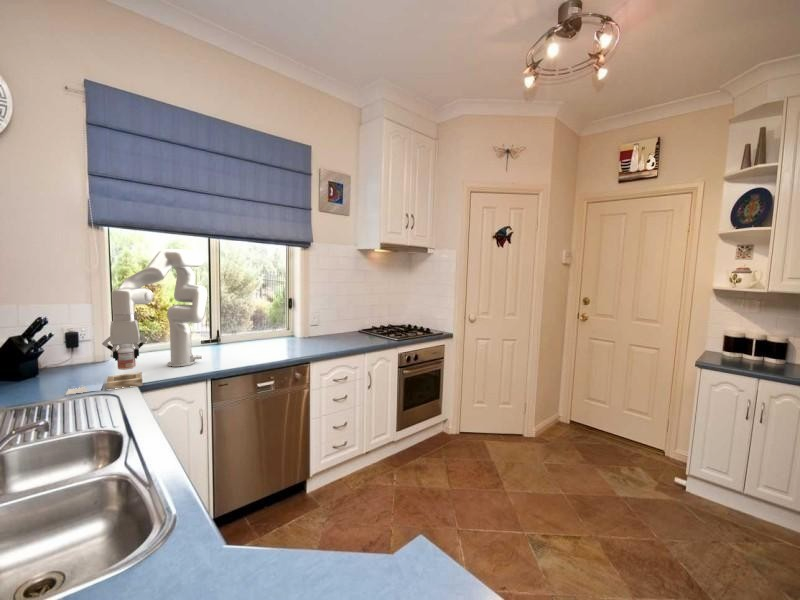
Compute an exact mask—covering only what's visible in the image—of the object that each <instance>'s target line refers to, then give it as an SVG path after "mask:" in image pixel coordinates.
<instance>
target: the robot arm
mask: <svg viewBox="0 0 800 600" xmlns="http://www.w3.org/2000/svg"><path fill="white" fill-rule="evenodd" d="M204 263H205V257H204V254H203V253H202V252H201V251H199V250H189V249H181V248H178V249H177V248H174V249H173V248H164V249H161V250H160V251H158V252H157V254H156V255H155V256H154V257H153V259H152V260H151V261H150V262H149V263H148V265H147V266H146V267H145V268H143V269H141V270H140V271H138V272H136V273H134V274H132V275H130V276H128V277H127V278H125V280H124V281H123V282H122V283H121V284H120V285H119V286H118V288H116V289H112V291H111V305H112V306H111V307H112V321H110V326H109V327H110V328H109V336H108V338H106V339H105V340H104V341H103V342H102V343H101V344H102V346H104V347H106V348H107V349H108V350H110V351H111V352H112V359H114V361H115V362H117V350H118V349H117V348H118V347H119V345H121V344H133V346H134V349H135V360H136V359H138V357H139V356H140V349H141V347H143V346H144V344H146V343H147V342H148V338H146V337H145V336H143V335H142V334H141V333H140V332H141V331H140V324H139V321H138V318H140V313H138V314H136V311H135V309H136V307H135V305H147V304H149V303H151V302H152V301H153V300H154V293H153V291H152V290H151V289H149V288H146V287H145V286H147V285H151V284H155V283H158V282H160V281H163V280H164V279H165V278H166V276H167V274H168V273H169V272H170V270H172V268H174V271H175V274H176V281H175V287H174V293H173V296H174V297H173V298H174V299H175V301H176V302H178V303H188V304H173V305H171V306H170V307H169V308H168V309H167V311H166V316H167V321H168V325H169V343H170V344H169V345H170V361H168V362H167V364H166V365H167V366H168V367H171V366H172V368H176V367H177V368H180V366H181V367H188V366H192V365H194V364H195V363H196V360H202V358H203V357H202V355H199V354H198V355H193V353H192V329H191V327H190V324H199V323H201V322H203V320H204V318H205V315H206V308H207V303H208V291H207V288H206V287H205V286H203V285H200V284H195V282H196V275H195V272H194V271H193V269H192V268H200V267H201V266H203V264H204ZM189 303H192V304H189ZM140 340H141V342H140ZM109 342H110V344H109ZM139 342H140V343H139Z"/></svg>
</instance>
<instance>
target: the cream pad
mask: <svg viewBox="0 0 800 600" xmlns="http://www.w3.org/2000/svg"><path fill="white" fill-rule="evenodd" d="M87 390H89V389H87V388H85V386H84V387H81V388H80V387H79V388H78V389H77V388H75V389H74V388H73V389H69V388H68V389H67V390H66V391H65V395H66V396H70V395H69V394H74V395H77V394H76V393H81V394H84V393H83V392H87ZM65 395H64V396H65Z"/></svg>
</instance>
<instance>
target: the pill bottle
mask: <svg viewBox="0 0 800 600" xmlns="http://www.w3.org/2000/svg"><path fill="white" fill-rule="evenodd" d="M133 346H134V344H121V345H118V347H119V348H118V349H116V350H117V361H116V362H117V369H118V370H120V371H125V370H132V369H134V368H136V358H135V347H133Z"/></svg>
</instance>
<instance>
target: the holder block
mask: <svg viewBox="0 0 800 600" xmlns="http://www.w3.org/2000/svg"><path fill="white" fill-rule="evenodd" d="M130 386H136V387H142V386H143V373H142V372H134V373H125V374H114V375H107V378H106V381H105V390H106V389H114V390H116V389H115V388H121V389H123V388H122V387H129V388H131V387H130Z"/></svg>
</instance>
